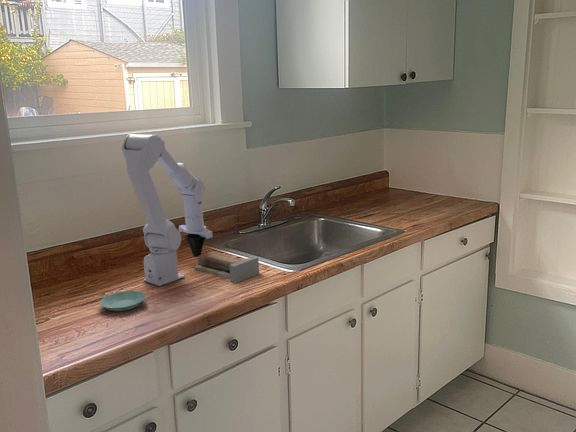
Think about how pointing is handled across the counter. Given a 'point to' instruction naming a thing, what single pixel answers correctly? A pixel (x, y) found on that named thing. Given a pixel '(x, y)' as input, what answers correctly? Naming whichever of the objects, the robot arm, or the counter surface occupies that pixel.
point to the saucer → (122, 300)
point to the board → (244, 269)
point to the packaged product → (216, 263)
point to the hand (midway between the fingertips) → (197, 256)
